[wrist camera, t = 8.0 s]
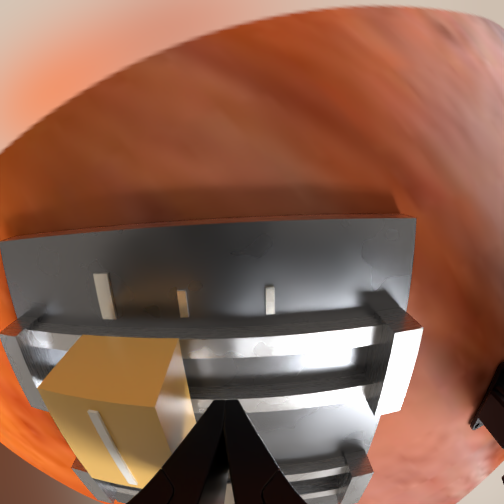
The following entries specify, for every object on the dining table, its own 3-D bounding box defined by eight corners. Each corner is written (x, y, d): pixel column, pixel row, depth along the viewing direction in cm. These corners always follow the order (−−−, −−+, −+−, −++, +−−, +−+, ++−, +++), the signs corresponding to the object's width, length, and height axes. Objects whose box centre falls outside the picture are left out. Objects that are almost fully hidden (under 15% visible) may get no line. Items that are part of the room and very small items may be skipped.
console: (400, 213, 11) (444, 226, 8) (342, 490, 16) (351, 519, 13) (14, 236, 10) (-28, 252, 7) (120, 490, 15) (112, 518, 12)
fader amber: (185, 319, 10) (154, 410, 6) (201, 408, 11) (188, 496, 7) (97, 318, 10) (35, 390, 6) (123, 403, 11) (91, 479, 7)
